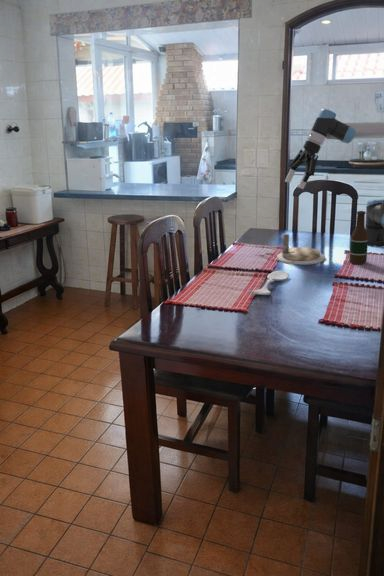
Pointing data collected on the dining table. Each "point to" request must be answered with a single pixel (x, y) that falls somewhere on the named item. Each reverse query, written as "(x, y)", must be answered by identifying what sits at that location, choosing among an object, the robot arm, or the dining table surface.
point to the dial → (298, 251)
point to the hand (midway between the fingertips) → (293, 185)
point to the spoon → (271, 278)
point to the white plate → (301, 261)
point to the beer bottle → (359, 241)
